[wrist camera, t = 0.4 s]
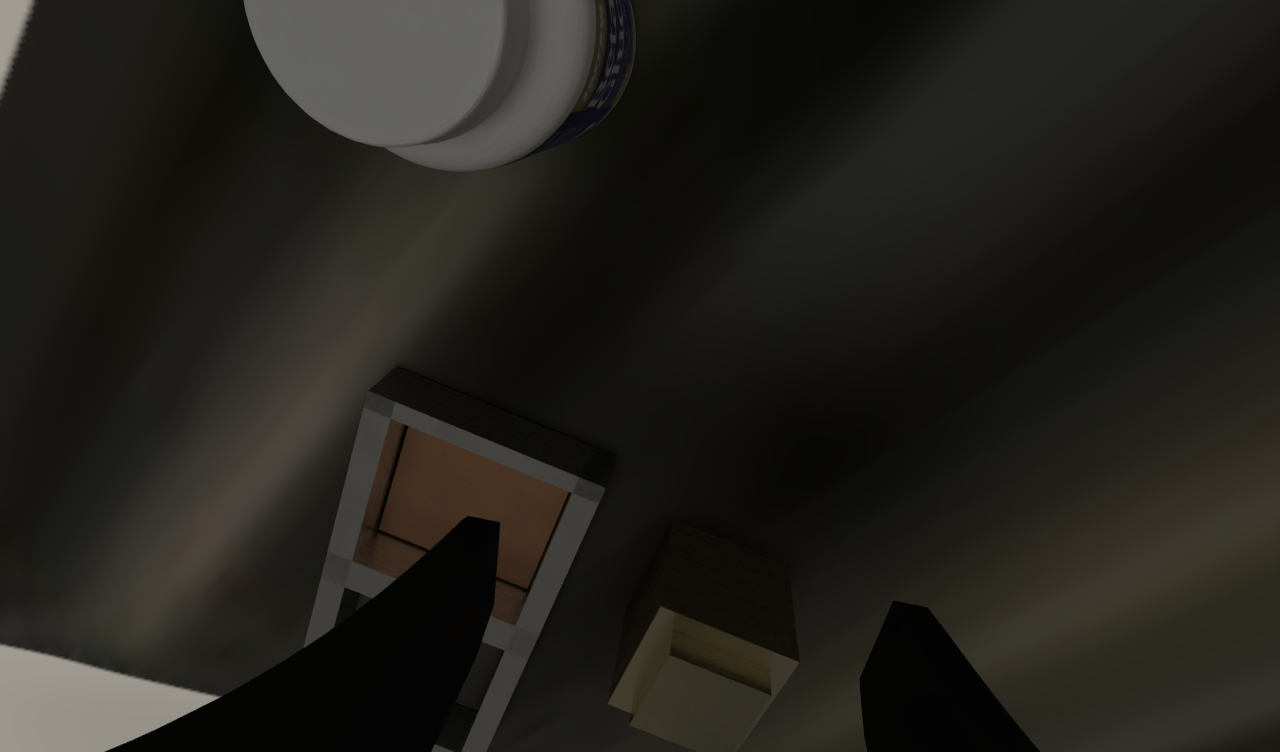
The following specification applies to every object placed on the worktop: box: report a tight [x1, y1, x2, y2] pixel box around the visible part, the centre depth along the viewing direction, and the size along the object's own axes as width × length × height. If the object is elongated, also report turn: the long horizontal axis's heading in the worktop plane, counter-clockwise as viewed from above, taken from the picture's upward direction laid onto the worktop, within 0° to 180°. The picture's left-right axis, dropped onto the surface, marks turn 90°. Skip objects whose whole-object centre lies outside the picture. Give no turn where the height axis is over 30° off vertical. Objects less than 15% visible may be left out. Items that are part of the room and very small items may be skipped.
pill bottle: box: [244, 0, 636, 172], centre depth 14 cm, size 5×5×10 cm
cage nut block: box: [607, 519, 800, 752], centre depth 23 cm, size 4×4×6 cm
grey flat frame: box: [304, 366, 616, 752], centre depth 26 cm, size 15×8×2 cm, turn 158°
